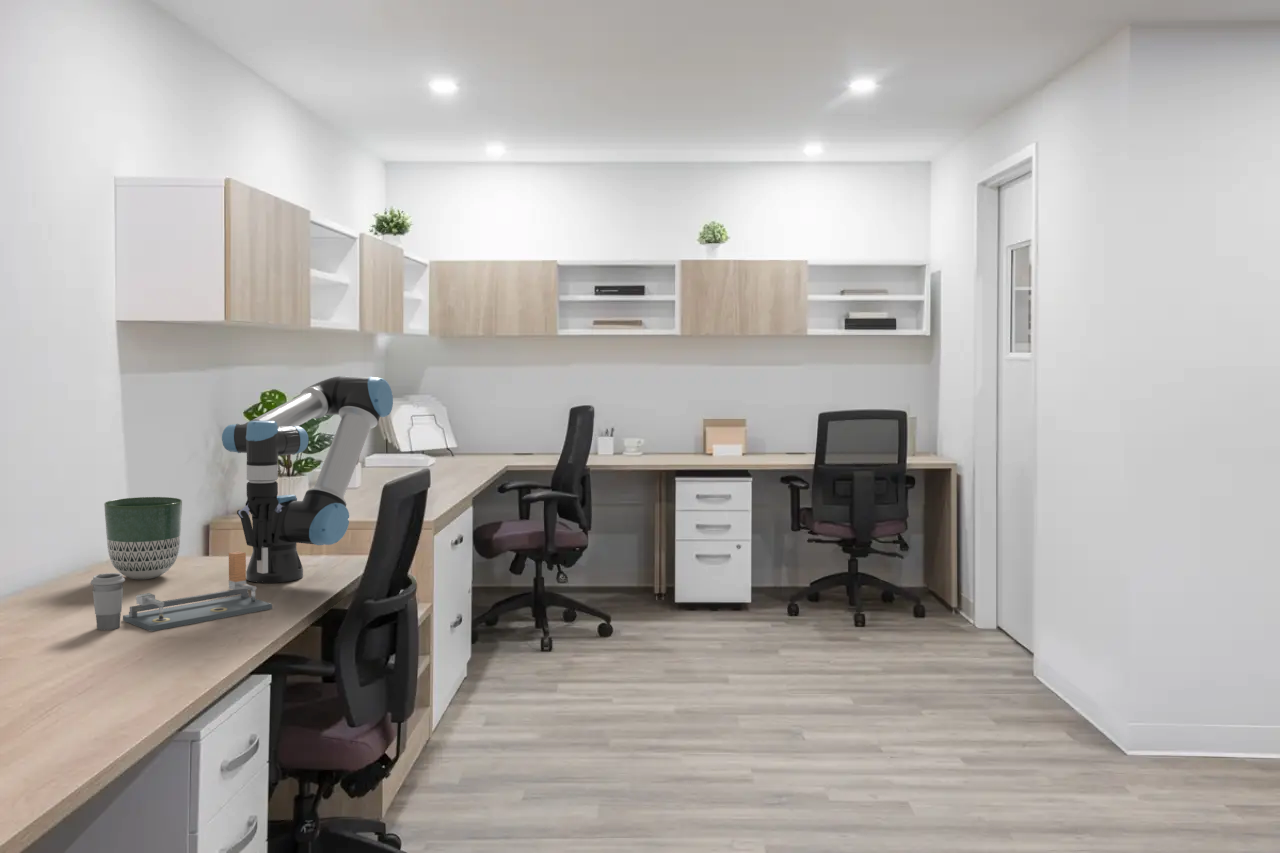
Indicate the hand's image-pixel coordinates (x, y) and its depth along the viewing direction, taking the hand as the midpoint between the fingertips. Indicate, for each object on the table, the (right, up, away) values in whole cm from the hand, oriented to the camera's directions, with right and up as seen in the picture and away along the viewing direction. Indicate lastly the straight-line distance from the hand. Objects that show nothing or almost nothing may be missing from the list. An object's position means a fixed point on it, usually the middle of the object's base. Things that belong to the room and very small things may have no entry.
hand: (262, 572), depth 268 cm
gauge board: (-9, -8, -17) cm, 21 cm away
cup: (-24, -9, -30) cm, 40 cm away
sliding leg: (-2, -6, -7) cm, 9 cm away
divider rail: (-10, -7, -16) cm, 20 cm away
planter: (-41, -5, +23) cm, 47 cm away
